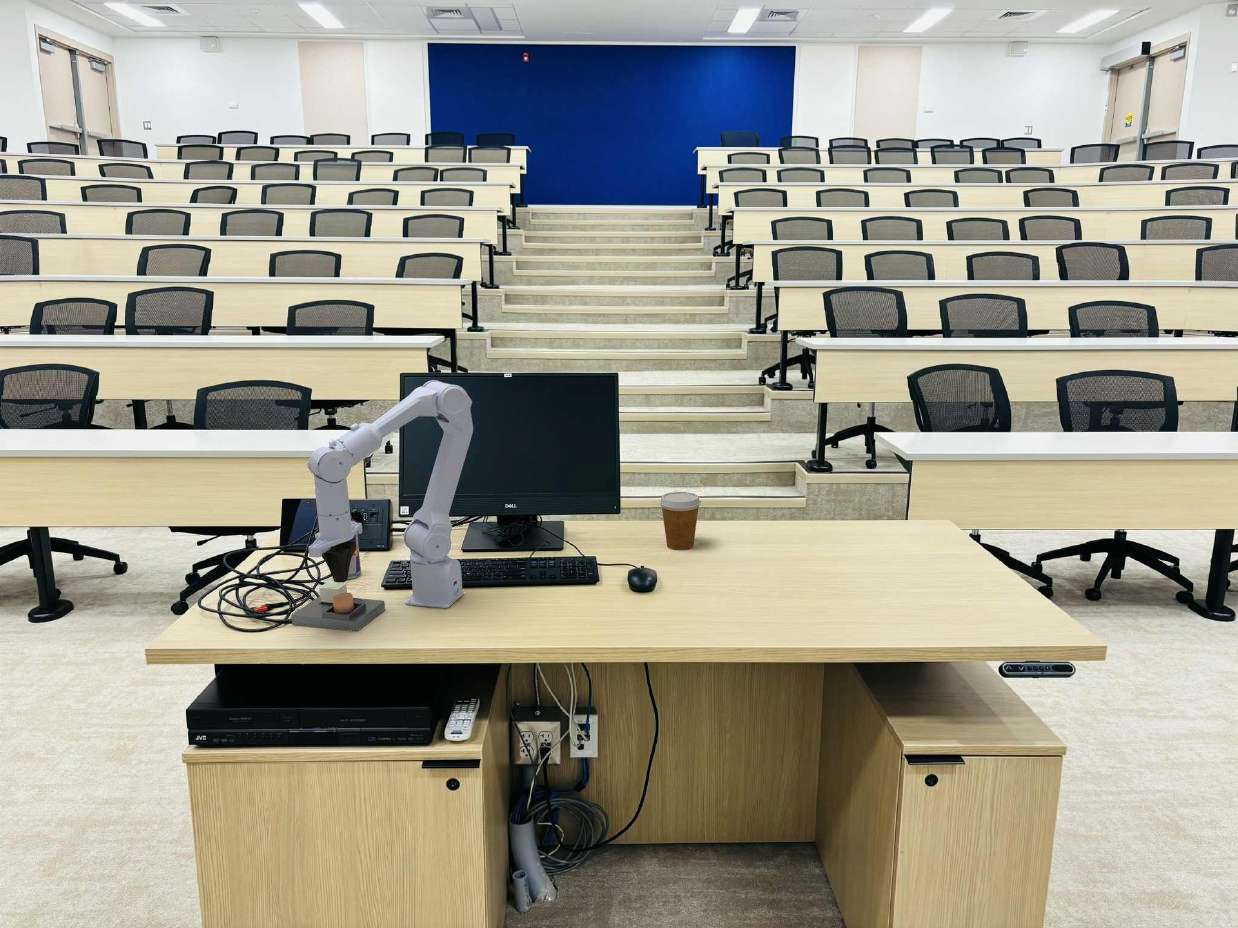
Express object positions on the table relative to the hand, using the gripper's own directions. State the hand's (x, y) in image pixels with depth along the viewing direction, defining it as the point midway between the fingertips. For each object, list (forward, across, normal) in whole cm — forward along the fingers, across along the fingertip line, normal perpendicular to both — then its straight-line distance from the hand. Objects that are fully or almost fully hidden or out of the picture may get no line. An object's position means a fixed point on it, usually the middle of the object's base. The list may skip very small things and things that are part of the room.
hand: (340, 580), depth 162 cm
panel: (+8, -2, -2) cm, 9 cm away
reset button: (+6, 0, 0) cm, 6 cm away
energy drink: (+9, -22, -13) cm, 27 cm away
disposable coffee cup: (+8, -56, +54) cm, 78 cm away
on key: (+6, -5, -5) cm, 9 cm away
